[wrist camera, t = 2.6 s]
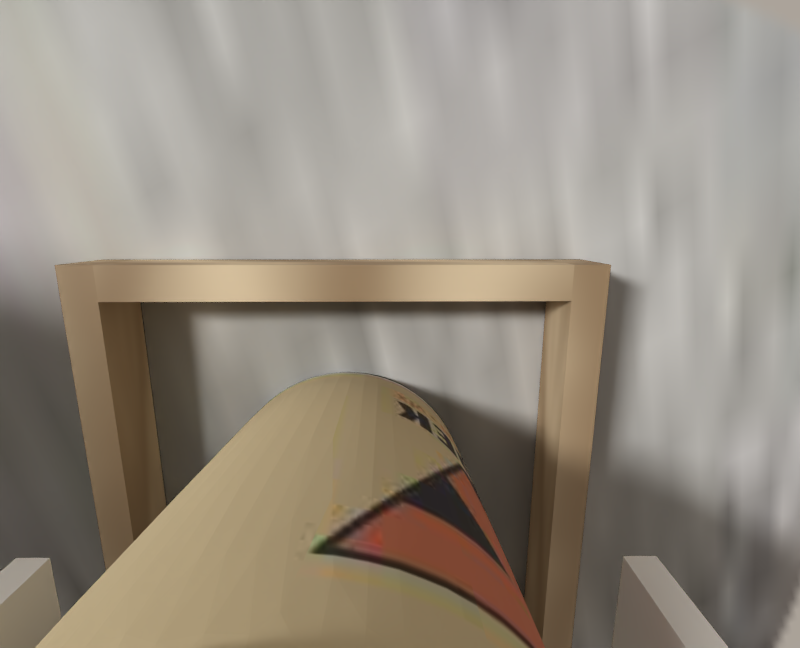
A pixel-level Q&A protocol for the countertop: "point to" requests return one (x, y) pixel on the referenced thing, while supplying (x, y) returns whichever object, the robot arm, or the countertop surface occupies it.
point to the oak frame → (340, 282)
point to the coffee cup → (316, 540)
